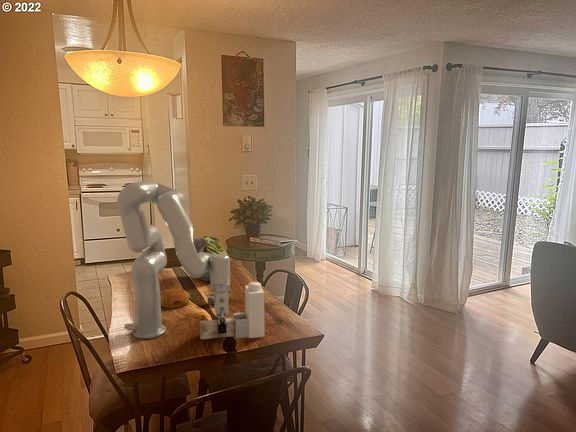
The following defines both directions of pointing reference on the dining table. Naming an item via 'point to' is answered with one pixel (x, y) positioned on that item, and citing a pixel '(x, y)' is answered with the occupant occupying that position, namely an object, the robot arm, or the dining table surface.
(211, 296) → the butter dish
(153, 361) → the dining table surface
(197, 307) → the dining table surface
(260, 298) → the post
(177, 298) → the croissant
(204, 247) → the flower arrangement
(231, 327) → the rail
